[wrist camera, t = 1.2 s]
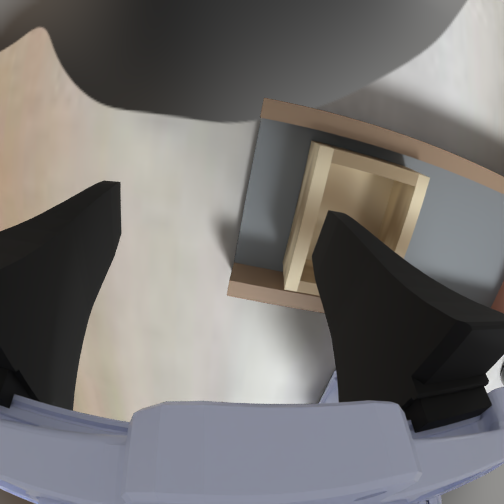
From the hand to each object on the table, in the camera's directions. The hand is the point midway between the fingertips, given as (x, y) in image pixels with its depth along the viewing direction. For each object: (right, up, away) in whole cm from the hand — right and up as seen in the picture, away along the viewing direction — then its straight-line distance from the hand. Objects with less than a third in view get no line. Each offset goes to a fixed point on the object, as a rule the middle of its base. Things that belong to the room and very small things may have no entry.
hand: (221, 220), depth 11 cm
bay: (+15, 0, +12) cm, 19 cm away
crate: (+8, +2, +12) cm, 14 cm away
